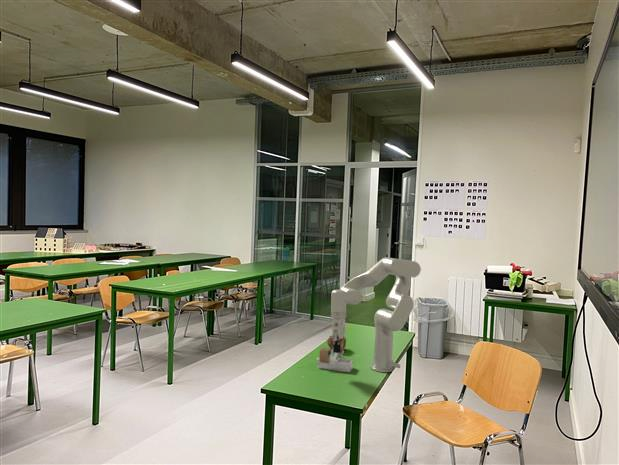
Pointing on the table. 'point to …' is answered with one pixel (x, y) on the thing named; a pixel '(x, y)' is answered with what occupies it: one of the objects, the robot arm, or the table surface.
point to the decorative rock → (332, 345)
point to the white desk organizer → (333, 362)
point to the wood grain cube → (340, 345)
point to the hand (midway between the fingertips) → (338, 350)
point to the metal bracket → (333, 356)
